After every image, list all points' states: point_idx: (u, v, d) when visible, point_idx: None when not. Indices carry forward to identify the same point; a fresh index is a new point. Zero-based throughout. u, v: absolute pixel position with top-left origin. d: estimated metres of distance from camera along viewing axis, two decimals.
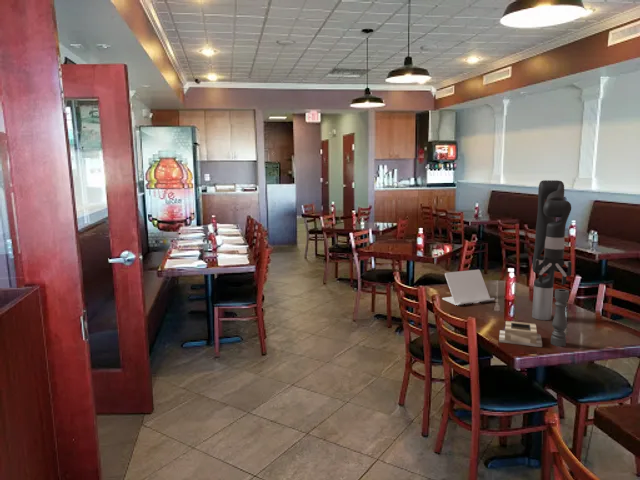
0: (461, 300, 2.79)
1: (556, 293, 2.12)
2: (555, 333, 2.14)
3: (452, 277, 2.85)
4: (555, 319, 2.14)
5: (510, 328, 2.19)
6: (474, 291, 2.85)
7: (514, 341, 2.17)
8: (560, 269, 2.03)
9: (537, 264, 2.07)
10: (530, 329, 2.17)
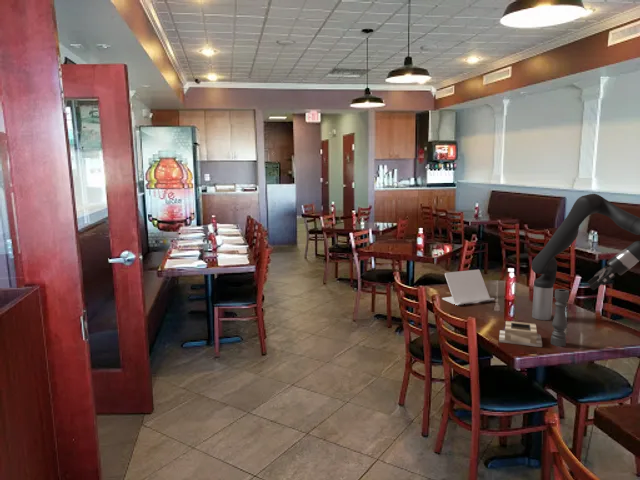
0: (461, 300, 2.79)
1: (556, 293, 2.12)
2: (555, 333, 2.14)
3: (452, 277, 2.85)
4: (555, 319, 2.14)
5: (510, 328, 2.19)
6: (474, 291, 2.85)
7: (514, 341, 2.17)
8: None
9: None
10: (530, 329, 2.17)
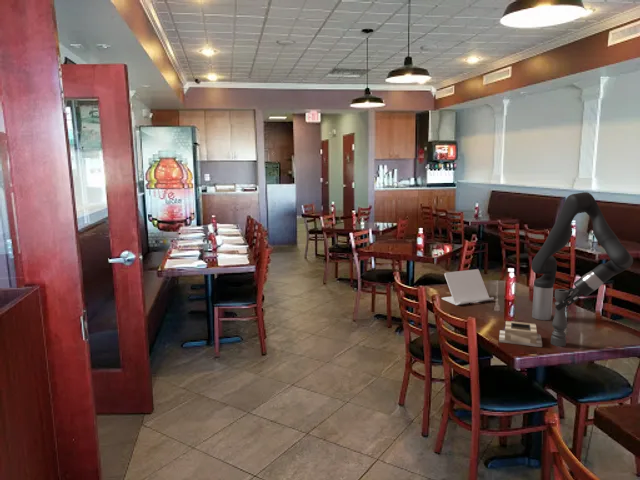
0: (461, 300, 2.80)
1: (556, 293, 2.12)
2: (555, 333, 2.14)
3: (451, 277, 2.85)
4: (555, 319, 2.14)
5: (510, 328, 2.19)
6: (473, 291, 2.85)
7: (514, 341, 2.17)
8: None
9: None
10: (530, 329, 2.17)
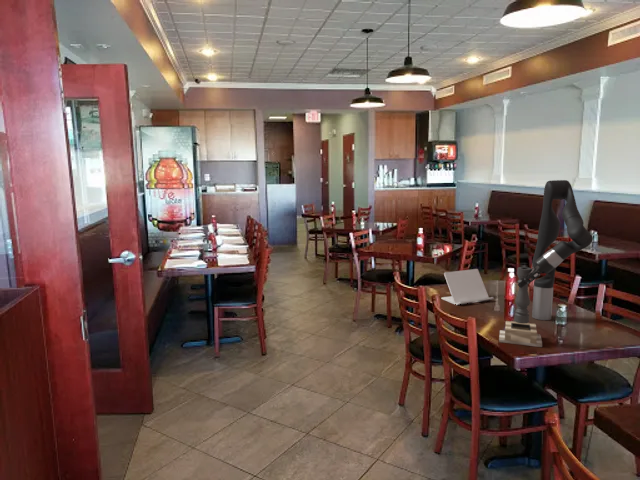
0: (461, 300, 2.80)
1: (518, 271, 2.17)
2: (518, 310, 2.19)
3: (451, 277, 2.86)
4: (518, 296, 2.18)
5: (510, 328, 2.19)
6: (473, 290, 2.86)
7: (514, 341, 2.17)
8: None
9: None
10: (530, 329, 2.17)
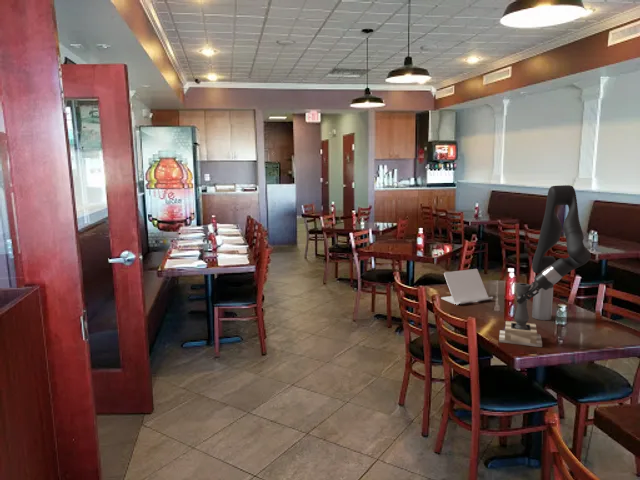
0: (460, 299, 2.80)
1: (517, 287, 2.18)
2: (517, 326, 2.20)
3: (451, 277, 2.86)
4: (517, 313, 2.19)
5: (510, 328, 2.19)
6: (473, 290, 2.86)
7: (514, 341, 2.17)
8: None
9: None
10: (530, 329, 2.17)
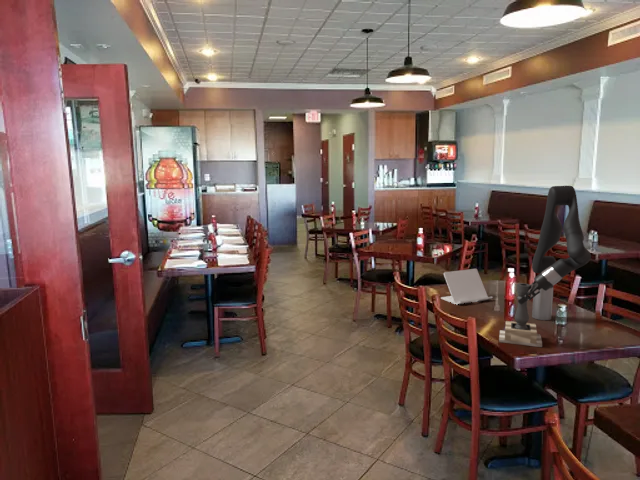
0: (460, 299, 2.81)
1: (518, 287, 2.18)
2: (517, 326, 2.20)
3: (451, 276, 2.86)
4: (517, 313, 2.19)
5: (510, 328, 2.19)
6: (472, 290, 2.87)
7: (514, 341, 2.17)
8: None
9: None
10: (530, 329, 2.17)
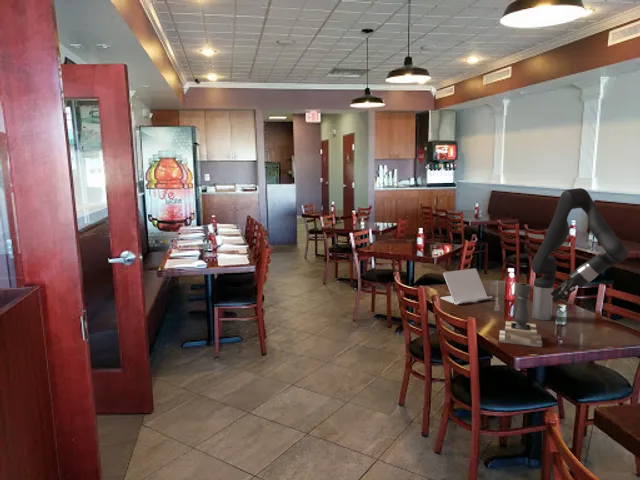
0: (460, 299, 2.81)
1: (518, 287, 2.18)
2: (517, 326, 2.20)
3: (450, 276, 2.86)
4: (517, 313, 2.19)
5: (510, 328, 2.19)
6: (472, 290, 2.87)
7: (514, 341, 2.17)
8: None
9: None
10: (530, 329, 2.17)
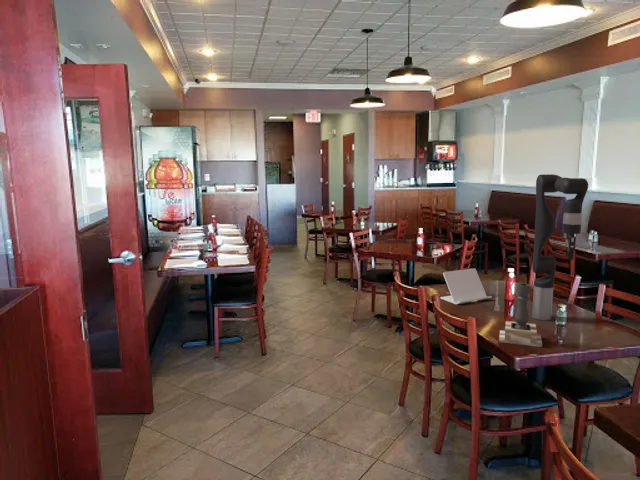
0: (460, 299, 2.81)
1: (518, 287, 2.18)
2: (517, 326, 2.20)
3: (450, 276, 2.87)
4: (517, 313, 2.19)
5: (510, 328, 2.19)
6: (471, 290, 2.88)
7: (514, 341, 2.17)
8: None
9: None
10: (530, 329, 2.17)
